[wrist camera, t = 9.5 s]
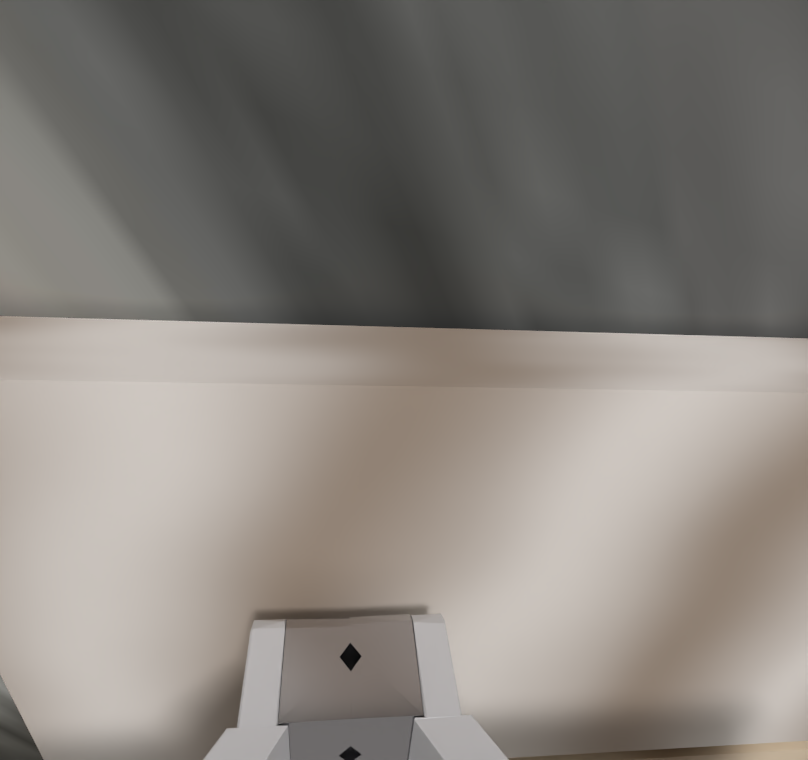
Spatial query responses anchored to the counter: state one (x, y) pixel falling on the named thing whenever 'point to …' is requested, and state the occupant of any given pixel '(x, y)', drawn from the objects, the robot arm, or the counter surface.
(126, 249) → the counter surface
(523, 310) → the counter surface
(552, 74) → the counter surface
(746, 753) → the laid oak row
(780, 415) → the whitewashed plank
